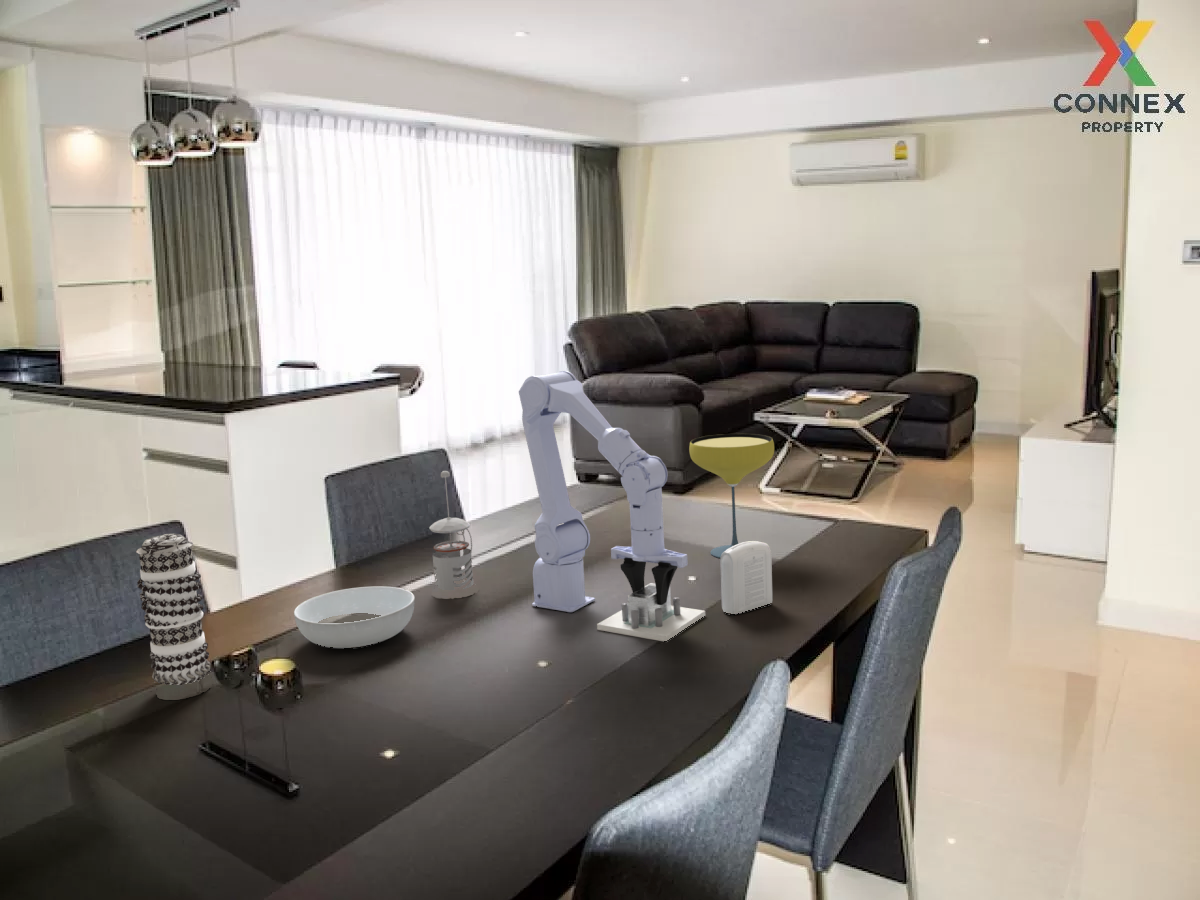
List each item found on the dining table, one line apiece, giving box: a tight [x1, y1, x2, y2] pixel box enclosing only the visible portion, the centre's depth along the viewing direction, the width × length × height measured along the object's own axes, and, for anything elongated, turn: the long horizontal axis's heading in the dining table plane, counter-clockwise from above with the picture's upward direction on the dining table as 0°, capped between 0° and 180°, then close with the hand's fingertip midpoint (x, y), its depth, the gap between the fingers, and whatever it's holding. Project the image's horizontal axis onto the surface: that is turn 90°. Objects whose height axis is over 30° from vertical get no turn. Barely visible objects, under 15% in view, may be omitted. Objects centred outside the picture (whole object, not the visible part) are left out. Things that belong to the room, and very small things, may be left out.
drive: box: [627, 582, 672, 627], centre depth 173 cm, size 4×8×5 cm, turn 146°
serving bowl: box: [293, 585, 416, 649], centre depth 174 cm, size 21×21×7 cm
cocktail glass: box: [688, 433, 775, 559], centre depth 213 cm, size 18×18×25 cm
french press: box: [429, 470, 475, 590], centre depth 198 cm, size 10×12×25 cm
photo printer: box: [719, 540, 773, 615], centre depth 178 cm, size 10×4×12 cm, turn 123°
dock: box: [596, 596, 706, 642], centre depth 174 cm, size 14×14×4 cm
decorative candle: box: [136, 533, 212, 686], centre depth 154 cm, size 9×9×25 cm
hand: (650, 601), depth 173 cm, fingers closed on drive, 4 cm apart
